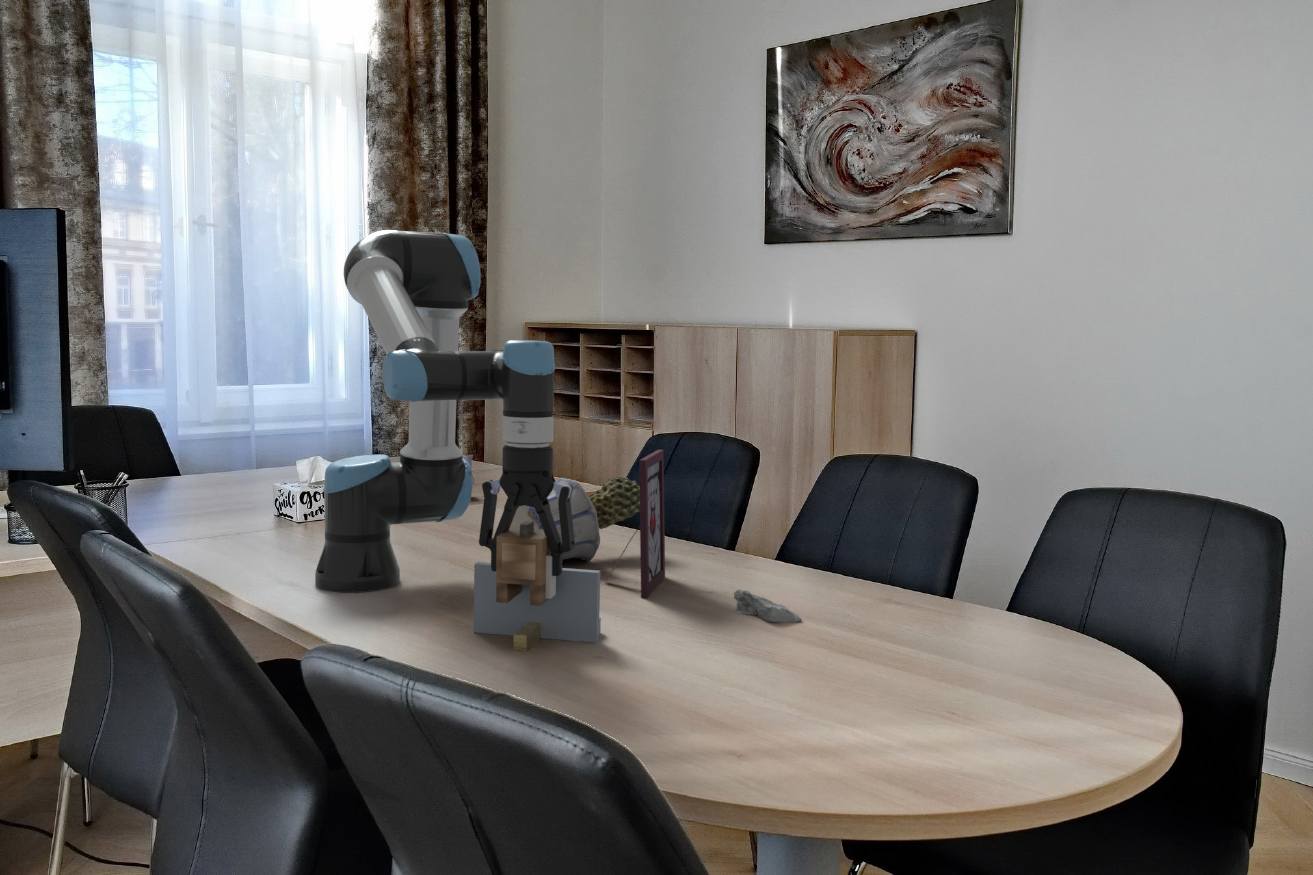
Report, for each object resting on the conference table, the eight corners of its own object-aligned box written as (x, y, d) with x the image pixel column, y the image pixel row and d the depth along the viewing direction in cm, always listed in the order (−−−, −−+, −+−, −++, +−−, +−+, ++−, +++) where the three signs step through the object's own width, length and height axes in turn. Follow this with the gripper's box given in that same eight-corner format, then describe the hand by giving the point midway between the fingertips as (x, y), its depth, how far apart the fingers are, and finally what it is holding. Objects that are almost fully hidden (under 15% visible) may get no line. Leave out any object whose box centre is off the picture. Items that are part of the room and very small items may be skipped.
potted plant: (538, 503, 205) (657, 456, 222) (491, 494, 218) (606, 451, 236) (558, 588, 208) (673, 535, 226) (510, 574, 222) (622, 525, 240)
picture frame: (647, 598, 192) (650, 460, 190) (594, 594, 194) (596, 457, 192) (665, 577, 209) (668, 449, 206) (616, 573, 211) (618, 447, 208)
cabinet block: (495, 602, 159) (496, 525, 158) (511, 590, 166) (512, 517, 165) (540, 606, 158) (541, 528, 157) (555, 594, 165) (556, 520, 164)
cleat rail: (513, 650, 160) (513, 634, 160) (528, 636, 167) (528, 622, 167) (526, 651, 160) (526, 635, 160) (540, 638, 167) (540, 623, 167)
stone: (759, 606, 190) (759, 584, 190) (805, 622, 180) (805, 597, 179) (730, 612, 186) (730, 589, 186) (775, 628, 176) (775, 603, 176)
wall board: (473, 632, 169) (474, 564, 168) (486, 622, 174) (486, 556, 173) (596, 642, 165) (597, 572, 164) (605, 632, 170) (606, 565, 169)
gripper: (455, 443, 158) (454, 595, 161) (585, 450, 154) (583, 606, 157) (474, 438, 165) (473, 583, 168) (599, 444, 161) (596, 593, 164)
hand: (526, 594), depth 162 cm, fingers closed on cabinet block, 7 cm apart
